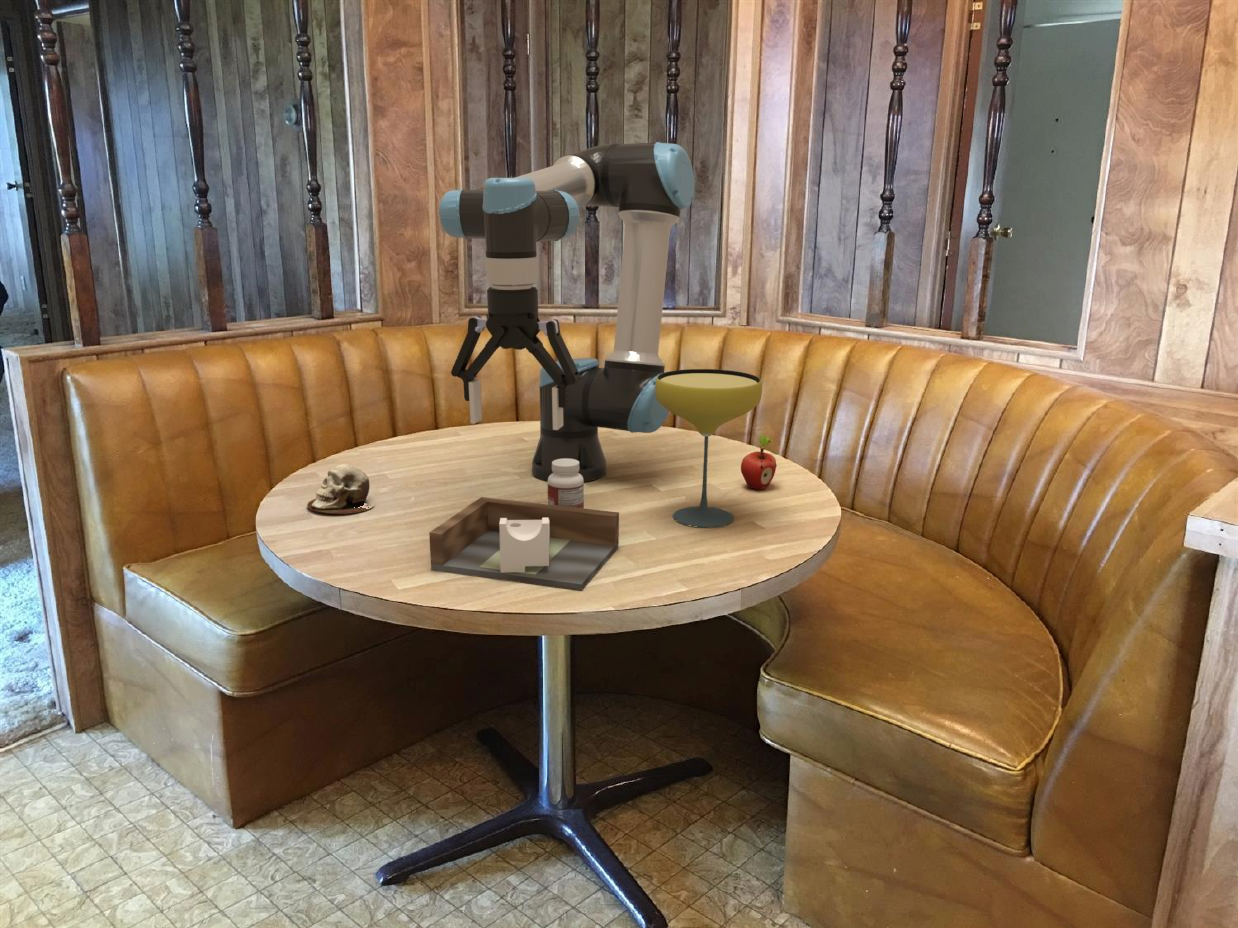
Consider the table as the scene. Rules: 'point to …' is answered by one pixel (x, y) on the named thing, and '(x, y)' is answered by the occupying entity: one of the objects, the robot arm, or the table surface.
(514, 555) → the bracket
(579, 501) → the pill bottle
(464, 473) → the table surface
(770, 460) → the apple
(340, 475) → the skull
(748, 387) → the cocktail glass
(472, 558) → the tray
